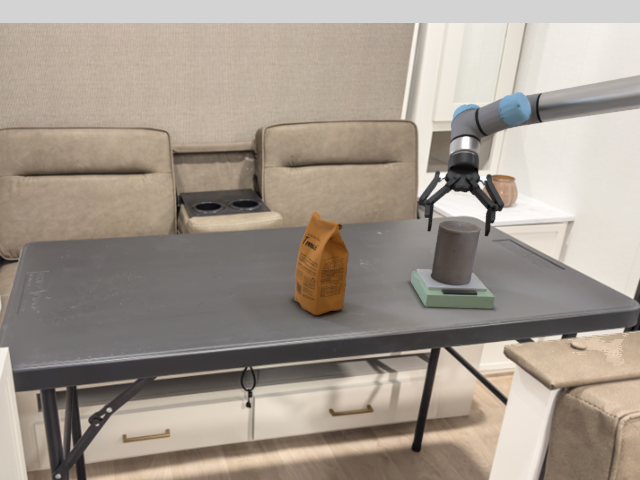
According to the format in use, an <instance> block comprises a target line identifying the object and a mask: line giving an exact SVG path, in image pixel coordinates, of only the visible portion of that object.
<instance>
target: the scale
mask: <svg viewBox="0 0 640 480" xmlns="http://www.w3.org/2000/svg"><path fill="white" fill-rule="evenodd" d="M431 274H432V268H431V269H430V268H416V270H411V277H410V283H411V285H412V287H413V288H414V290H415V292H416V294H417V295H418V297H419V298H420V300H421V302H422V304H423V305H424V307H426V308H453V309H455V308H456V309H488V310H491V309H492V310H493V307H494V303H495V297H496V296H495V295H494V294H493V293H492V292H491V291H490V290H489V288H488V287H487V286H486V285H485V284H484V282H482V281H481V279H480V278H479V277H478V276H477V275H476V273H474V272H473V271H472V275H471V280H470V282H469V283H468V284H464V285H452V284H445V283H441V282H438V281H436V280H434V279H433V278H432V277H431Z"/></svg>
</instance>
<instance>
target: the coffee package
mask: <svg viewBox="0 0 640 480" xmlns="http://www.w3.org/2000/svg"><path fill="white" fill-rule="evenodd" d="M342 229H343V225H342V224H341V223H339V222H335V221H329V220H325V219H324V220H323V219H322V217H321V215H320V213H318V212H317V211H313V212H312V214H311V217H310V220H309V221H308V223H307V226H306V229H305V232H304V234H303V236H302V239H301V242H300V244H299V249H298V254H297V255H298V256H297V260H296V265H295V266H296V267H295V272H294V274H295V275H294V276H295V278H294V280H295V282H294V283H295V284H294V301H295V302H296V303H299V305H300V306H301V308H302V310H304V311H305V312H307V313H310V314H312V315H313V316H321V315H323V314H326V313H329V312H333V311H340V310H342V309H344V303H345V296H346V295H345V294H346V288H347V275H348V263H349V255H350V253H349V251H348V247H347V245H346V244H345V241H344V239H343V238H342V234H341V232H340V230H342Z"/></svg>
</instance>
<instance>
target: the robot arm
mask: <svg viewBox="0 0 640 480" xmlns="http://www.w3.org/2000/svg"><path fill="white" fill-rule="evenodd" d="M632 110H640V74H637V75H632V76H627V77H622V78H616V79H609V80H604V81H598V82H594V83H587V84H583V85H577V86H571V87H566V88H561V89H560V88H559V89H554V90H550V91H545V92H539V93H533V94H527V95H525V94H524V93H523V92H521V91H518V92H517V91H516V92H515V93H511V94H509V95H505V96H503V97H502V98H499V99H497V100H494V101H492V102H490V103H488V104H486V105H483V106H481V107H480V106H479V105H477V104H476V103H469V104H462V105H460V106H458V107H457V108H456V109H455V110H454V111H453V114H452V120H451V122H450V123H451V124H450V129H451V130H450V131H451V132H450V142H449V152H448V162H447V171H446V173H441V171H440V170H436V171H435V172H434V176H433V178H432V180H431V181H430V182H429V184H428V186H426V188H425V189H424V190H423V192H422V193H421V195H420V196H419V197H418V201H417V202H418V204H417V205H418V206H423V207H424V214H423V215H424V216H423V218H424V219H428V221H427V232H431V231H432V226H433V218H434V217H433V216H434V208H435V204H436V203H437V202H439V200H440V199H442V198H444V197H445V195H447V194H449V193H450V192H451V191H454V192H455V193H457V192H458V193H459V192H461V193H470V194H471V195H472V196H474V197H475V198H476V199H477V200H478V201H479V203H481V204H482V206H484V208H485V209H486V212H485V224H484V237H489V236H490V232H491V225H493V224H494V223H495V222H496V217H497V216H496V215H497V214H496V213H497V212H500V213H501V212H502V211H503V208H504V207H505V203H504V200H503V198H502V197H501V195H500V193H499V191H498V190H497V188H496V186H495V184H494V182H493V176H492V174H490V173H487V174H486V176H485V175H483V176H481V175H480V174H479V172H480V171H479V169H480V155H481V143H482V139H483V138H485V137H489V136H491V135H493V134H496V133H499V132H502V131H505V130H508V129H513V128H517V127H524V126H530V125H536V124H542V123H550V122H557V121H562V120H570V119H576V118H583V117H590V116H598V115H605V114H611V113H618V112H624V111H625V112H627V111H632ZM443 180H444V181H445V184H444V185H443V186H442V187H441V188H439V189H438V190H437V191H436V192H434V190H435V188H436V187H437V186H438V183H442V181H443ZM479 183H481V184H482V186H484V188H485V190H486V192H487V194H486V192H485V191H484V190H483V189H482V188H481V187H480V184H479ZM433 192H434V193H433ZM432 193H433V194H432ZM431 194H432V195H431Z"/></svg>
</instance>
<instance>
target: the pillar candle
mask: <svg viewBox="0 0 640 480" xmlns="http://www.w3.org/2000/svg"><path fill="white" fill-rule="evenodd" d="M481 230H482V229H481V227H480V226H479V225H476V224H475V223H471V222H466V221H461V220H444V221H441V222H439V224H438V230H437V236H436V242H435V249H434V254H433V255H434V256H433V263H432V268H431V269H432V274H431V277H432V278H433V279H434V280H436V281H438V282H441V283H445V284H452V285H464V284H468V283H469V282H470V280H471V275H472V272H473V271H474V266H475V261H476V254H477V248H478V245H479V238H480V233H481Z"/></svg>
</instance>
